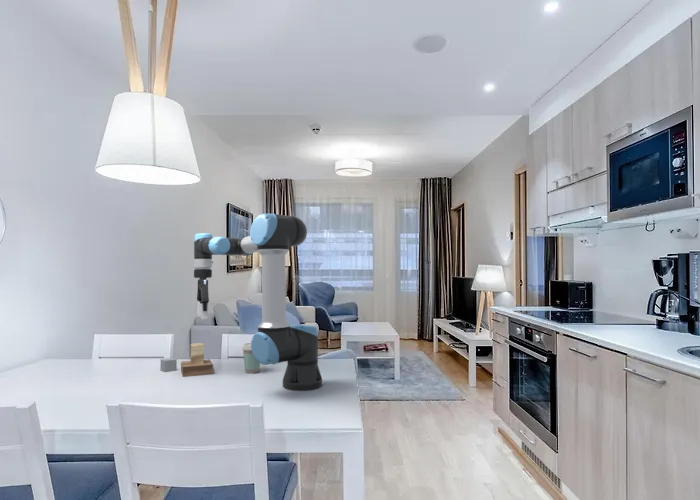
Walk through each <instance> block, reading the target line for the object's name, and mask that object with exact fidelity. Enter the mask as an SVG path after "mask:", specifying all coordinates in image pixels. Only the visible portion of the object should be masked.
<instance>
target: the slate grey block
mask: <svg viewBox="0 0 700 500" xmlns="http://www.w3.org/2000/svg"><path fill="white" fill-rule="evenodd" d="M177 362H178V361H177V358H174V357H167V358H160V371H161V372H163V373H169V372H175V371H177V364H178V363H177Z"/></svg>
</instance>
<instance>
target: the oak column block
mask: <svg viewBox="0 0 700 500" xmlns="http://www.w3.org/2000/svg"><path fill="white" fill-rule="evenodd" d="M204 353H205V345H204V343H203V342H199V343H197V342H196V343H190V359H189V361H190V363H191V365H194V364H204V360H205V359H204V358H205V357H204V356H205V354H204Z"/></svg>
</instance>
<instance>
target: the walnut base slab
mask: <svg viewBox="0 0 700 500" xmlns="http://www.w3.org/2000/svg"><path fill="white" fill-rule="evenodd" d="M180 372H181V375H182V377H183V378H185V377H195V376H196V377H197V376H206V375H213V374H214V364H213V362H212V361H211V359H204V364H194V365H191V363H190V360H185V361H180Z"/></svg>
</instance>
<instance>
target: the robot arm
mask: <svg viewBox="0 0 700 500" xmlns="http://www.w3.org/2000/svg"><path fill="white" fill-rule="evenodd" d="M307 235H308V228H307V226H306V224H305V222H304V221H303V220H302V219H300V218H298V217H297V216H292V215H283V214H277V213H261V214H259V215H257V217H255V218H254V220H253V222H252V224H251V226H250V230H249V235H248V236H245V237H239V238H237V237H235V238H234V237H224V236H214V237H213V235H212V233H206V232H205V233H204V232H203V233H201V232H200V233H195V235H194V241H193V268H194V270H193V278H195V279H197V292H196V300H197V302H196V303H197V304H196V305H197V306H196V307H197V308H196V309H197V311H196V314H197V315H196V316H197V317H200V319H201V320H208V319H209V302H210V299H209V296H210V295H209V280H208V278H209V279H211V278H213V271H212V269H211V268H213V267H212V266H213V264H214V261H213V256H243V257H247V256H248V257H249V256H252V255H253V254H254V253H259V254H260V256H261V322H260V323H259V325H257V332H256V333H254V334H253V336H252V338H251V341H250V343H251V348H252V352H253V355H254V357H255V358H256V360H257V361H258V362H260V365H264V366H265V365H266V366H269V365H277V364H279V363H284V362H285V363H286V362H287V363H286V368H285V370H284V371H285V372H284V375H283V378H282V387H283V388H284V389H286V390H292V391H309V390H310V391H311V390H316V389H318V388H321V387H322V386H323V377H322V374H321V371H320V367H319V364H318V363H319V362H318V361H319V335H318V333H319V331H318V328H317V327H316V326H313V325H306V324H296V323H295V324H293V323H289V321H287V311H286V310H287V298H286V297H287V296H286V295H287V294H286V293H287V292H286V288H287V287H286V285H287V284H286V283H287V282H286V281H287V280H286V254H288V252H289V251H290V248H291V247H297V246H301V245H302V244H303V243H304V242H305V240H306V239H307Z"/></svg>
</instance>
